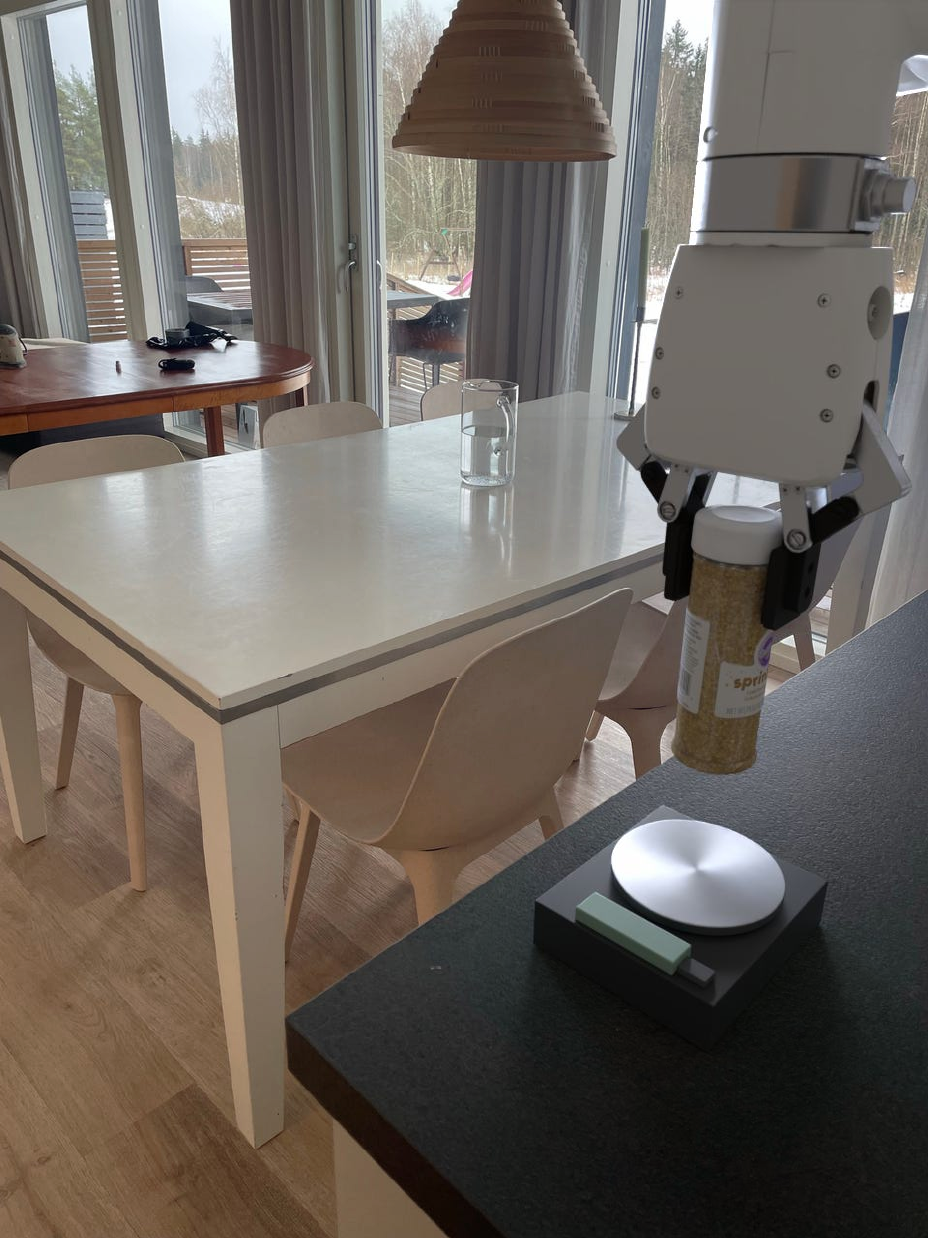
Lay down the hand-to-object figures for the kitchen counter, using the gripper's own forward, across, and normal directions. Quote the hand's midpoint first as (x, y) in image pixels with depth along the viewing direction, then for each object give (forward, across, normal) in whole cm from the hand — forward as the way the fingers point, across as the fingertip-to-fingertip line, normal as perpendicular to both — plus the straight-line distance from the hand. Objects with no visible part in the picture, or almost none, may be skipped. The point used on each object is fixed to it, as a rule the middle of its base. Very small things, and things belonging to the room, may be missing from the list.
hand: (731, 603), depth 47 cm
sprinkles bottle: (+9, 0, 0) cm, 9 cm away
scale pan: (+17, 0, 0) cm, 17 cm away
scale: (+20, 0, +1) cm, 20 cm away
